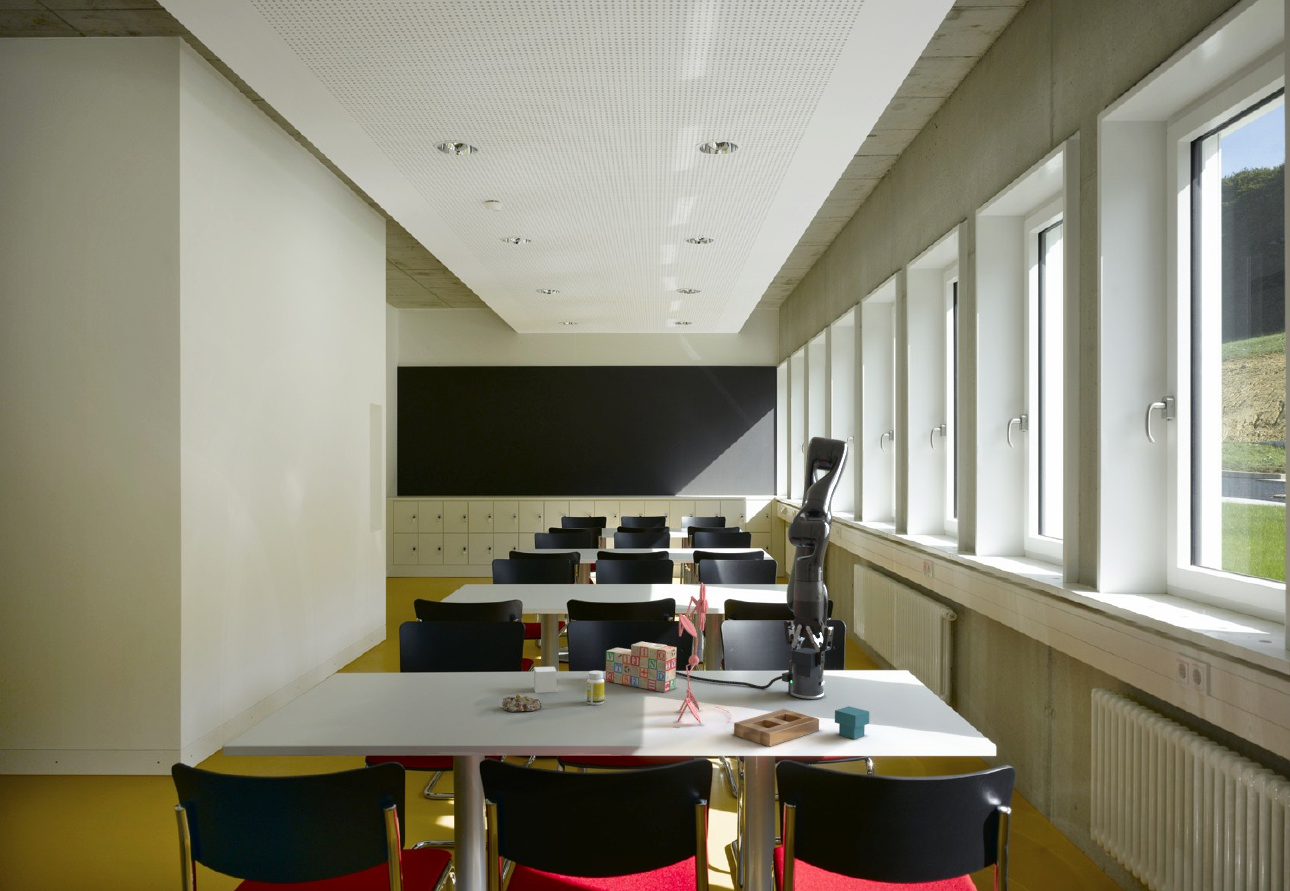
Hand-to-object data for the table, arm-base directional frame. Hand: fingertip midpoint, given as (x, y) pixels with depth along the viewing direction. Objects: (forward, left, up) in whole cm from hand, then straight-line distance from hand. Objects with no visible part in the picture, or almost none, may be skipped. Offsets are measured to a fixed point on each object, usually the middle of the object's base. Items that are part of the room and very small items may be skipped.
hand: (808, 664), depth 220 cm
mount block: (-2, -10, -16) cm, 19 cm away
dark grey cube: (0, 0, -3) cm, 3 cm away
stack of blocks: (-58, -5, -16) cm, 60 cm away
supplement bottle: (-51, -28, -16) cm, 60 cm away
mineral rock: (-59, -47, -16) cm, 77 cm away
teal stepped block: (+11, +3, -16) cm, 20 cm away
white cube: (-71, -30, -16) cm, 79 cm away
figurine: (-22, -15, -16) cm, 31 cm away
